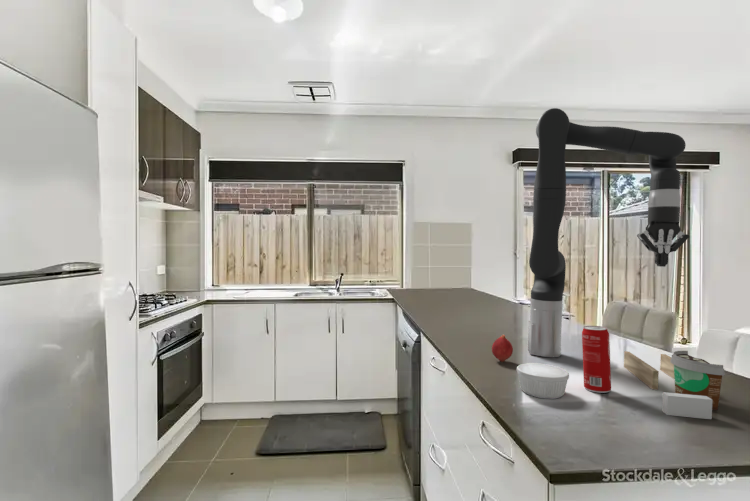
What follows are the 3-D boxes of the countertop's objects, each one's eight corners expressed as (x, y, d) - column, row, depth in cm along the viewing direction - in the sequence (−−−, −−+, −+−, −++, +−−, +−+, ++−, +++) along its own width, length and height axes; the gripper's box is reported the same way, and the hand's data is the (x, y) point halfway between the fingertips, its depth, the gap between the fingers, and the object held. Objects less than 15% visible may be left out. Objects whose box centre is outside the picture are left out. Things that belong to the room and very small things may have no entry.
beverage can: (614, 395, 94) (617, 330, 94) (584, 392, 95) (586, 328, 95) (605, 386, 100) (607, 325, 99) (577, 383, 101) (579, 323, 101)
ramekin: (506, 386, 98) (506, 365, 98) (541, 381, 103) (541, 360, 103) (542, 404, 88) (542, 380, 88) (579, 397, 92) (579, 374, 92)
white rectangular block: (666, 414, 84) (667, 395, 84) (662, 410, 86) (662, 392, 85) (711, 419, 82) (712, 399, 82) (705, 415, 84) (706, 396, 84)
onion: (490, 363, 117) (491, 335, 117) (492, 357, 122) (493, 331, 122) (511, 365, 115) (512, 337, 114) (513, 360, 120) (513, 333, 120)
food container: (657, 389, 98) (658, 348, 98) (684, 391, 98) (686, 350, 97) (691, 411, 86) (693, 364, 86) (723, 413, 85) (725, 365, 85)
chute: (652, 389, 98) (653, 370, 98) (623, 366, 116) (624, 351, 116) (701, 393, 96) (702, 374, 96) (664, 370, 114) (665, 354, 114)
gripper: (644, 204, 114) (641, 266, 115) (697, 205, 112) (694, 268, 112) (632, 207, 122) (630, 264, 122) (682, 207, 119) (680, 266, 120)
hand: (661, 266), depth 117 cm, fingers closed
